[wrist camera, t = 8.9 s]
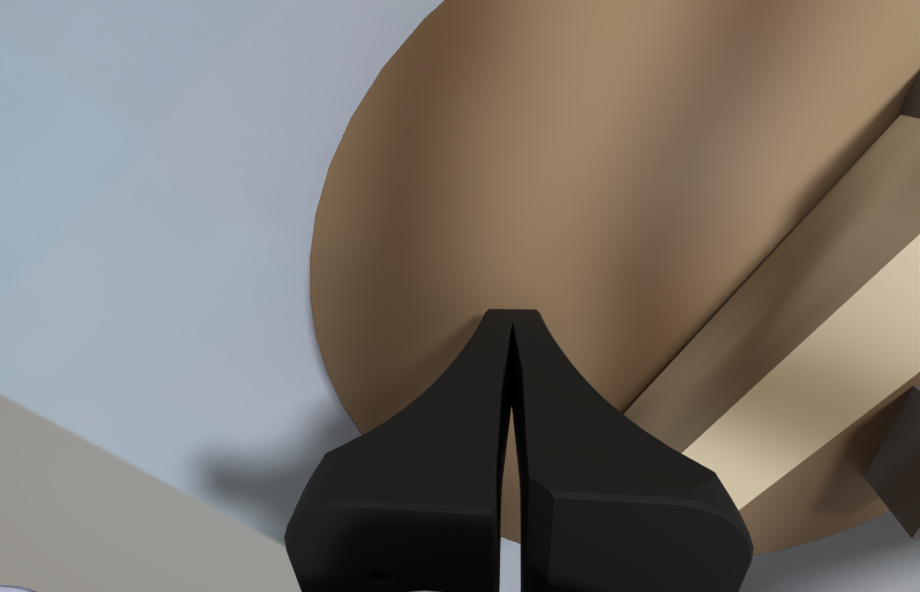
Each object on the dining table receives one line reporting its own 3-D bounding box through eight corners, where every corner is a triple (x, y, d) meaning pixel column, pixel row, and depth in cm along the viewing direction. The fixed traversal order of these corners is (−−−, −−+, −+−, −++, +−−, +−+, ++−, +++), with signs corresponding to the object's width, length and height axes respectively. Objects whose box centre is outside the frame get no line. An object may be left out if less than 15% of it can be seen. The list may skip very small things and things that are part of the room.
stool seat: (1272, -154, 9) (1846, -297, 5) (871, 522, 19) (964, 648, 15) (271, -71, 11) (143, -126, 7) (380, 494, 21) (350, 598, 17)
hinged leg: (1007, -23, 8) (1214, -47, 6) (1127, 60, 9) (1367, 70, 6) (574, 455, 15) (585, 536, 13) (652, 489, 15) (679, 575, 13)
